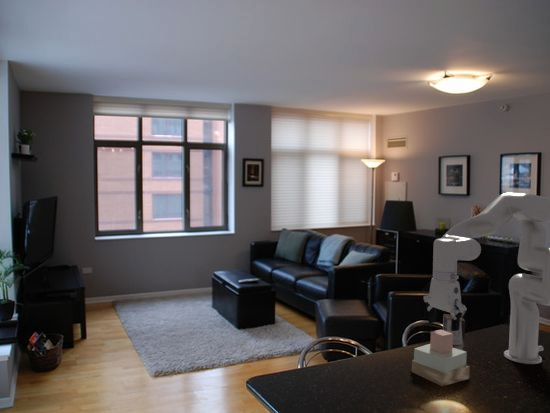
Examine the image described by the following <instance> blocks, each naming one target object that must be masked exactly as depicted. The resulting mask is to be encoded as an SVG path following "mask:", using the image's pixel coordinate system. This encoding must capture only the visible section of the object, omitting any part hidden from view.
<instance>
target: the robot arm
mask: <svg viewBox="0 0 550 413" xmlns="http://www.w3.org/2000/svg"><path fill="white" fill-rule="evenodd" d="M512 218H514V219H515V220H516V222H517V223H518V225H519V227H520V240H519V248H518V254H517V265H518V266H519V268H521V270H522V269H523V270H524V271H529V272H534V273H540V274H542V276H537V275H533V274H527V273H516V274H514V275H513V276H512V277H511V278H510V279H509V282H508V290H509V292H508V293H509V298H510V315H509V337H508V338H509V339H508V349H506V350H505V351H503V356H504V357H505V358H506V359H507V360H510V361H513V362H515V363H518V364H519V363H520V364H524V365H537V364H541V363H542V362H543V358H542V357H541V355H539V353H540V352H542V351H544V346H542V345H539V330H540V329H539V328H540V326H539V325H540V310H539V306H538V305H539V304H540V305H543V306H548V307H550V247H547V238H548V232H547V228H546V226H545V225H544V223H550V197H546V196H540V195H536V194H533V193H532V194H531V193H524V192H504V193H501V194H499V195H498V196H497V197H496V198H495V199H494V200H492V202H490V204H488V205H487V206H486V207H485V208H484V209H483V210H482V211H481V212H480V213H479V214H478V215H475V216H472V217H470V218H467V219H465V220H463V221H460V222H459V223H457V224H455V225H453V226H452V227H451V228H449V229H448V230H447V231H446V232H445V234H443V235H442V237H441V238H436V239H435V240H434V241H433V252H432V253H433V255H432V259H433V260H432V278H431V281H430V286H429V294H427V295H424V296H423V301H424V305H425V307H426V309H427V312H428V320H427V321H428V324H435V323H437V314H438V313H437V310H436V309H438V310H439V311H440V310H441V311H443V312H446V313H450V314H451V315H452V317H453V319H452V320H451V331H457V330H459V327H460V319H461V318H462V317H464V316H465V313H466V312H467V307H466V305H465V304H463V303H462V294H461V286H460V282H459V281H458V279H459V277H460V276H459V275H458V261H469V262H470V261H473V260H475V259H477V258H478V257H479V256H480V254H481V253H482V252H481V251H482V246H481V245H480V244H481V243H480V242H479V241H477V240H476V239H475V238H480V237H486V236H491V235H495V234H497V233H499V231H501V229H502V228H503V227H504V226H506V224H507V223H508V222H510V221H511V220H512ZM537 304H538V305H537ZM455 314H456V315H455Z"/></svg>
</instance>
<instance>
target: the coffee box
mask: <svg viewBox="0 0 550 413" xmlns="http://www.w3.org/2000/svg"><path fill="white" fill-rule="evenodd" d="M455 315H456V313H455ZM442 317H443V318H442V330H444V331H447V332H450V333H452V334H453V348H456V349H459V350H462V351H465V336H466V335H465V333H466V320H465V319H464V316H462V318H461V319H460V327H459V330H457V331H451V320H452V319H453V317H452V315H451V314H447V313H443V316H442Z"/></svg>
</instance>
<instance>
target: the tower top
mask: <svg viewBox="0 0 550 413" xmlns="http://www.w3.org/2000/svg"><path fill="white" fill-rule="evenodd" d="M467 356H468V355H467V351H465V350H464V351H462V350H459V349H456V348H452V352H448V353H443V354H441V353H439V352H436V351H434V350H431V349H430V343H428V344H424V345H421V346H418V347H415V348H414V351H413V360H414V362H416V363H419V364H422V365H424V366H427V367H430V368H432V369H435V370H438V371H440V372H443V373H447V372H450V371H452V370H455V369H458V368H460V367H463V366H465V365H467Z"/></svg>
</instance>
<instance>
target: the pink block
mask: <svg viewBox="0 0 550 413" xmlns="http://www.w3.org/2000/svg"><path fill="white" fill-rule="evenodd" d="M429 344H430V349H431V350H434V351H436V352H439V353H441V354H443V353H448V352H452V348H453V334H452V333H450V332H447V331H444V330H443V329H437V330H431V331H430V343H429Z"/></svg>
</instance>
